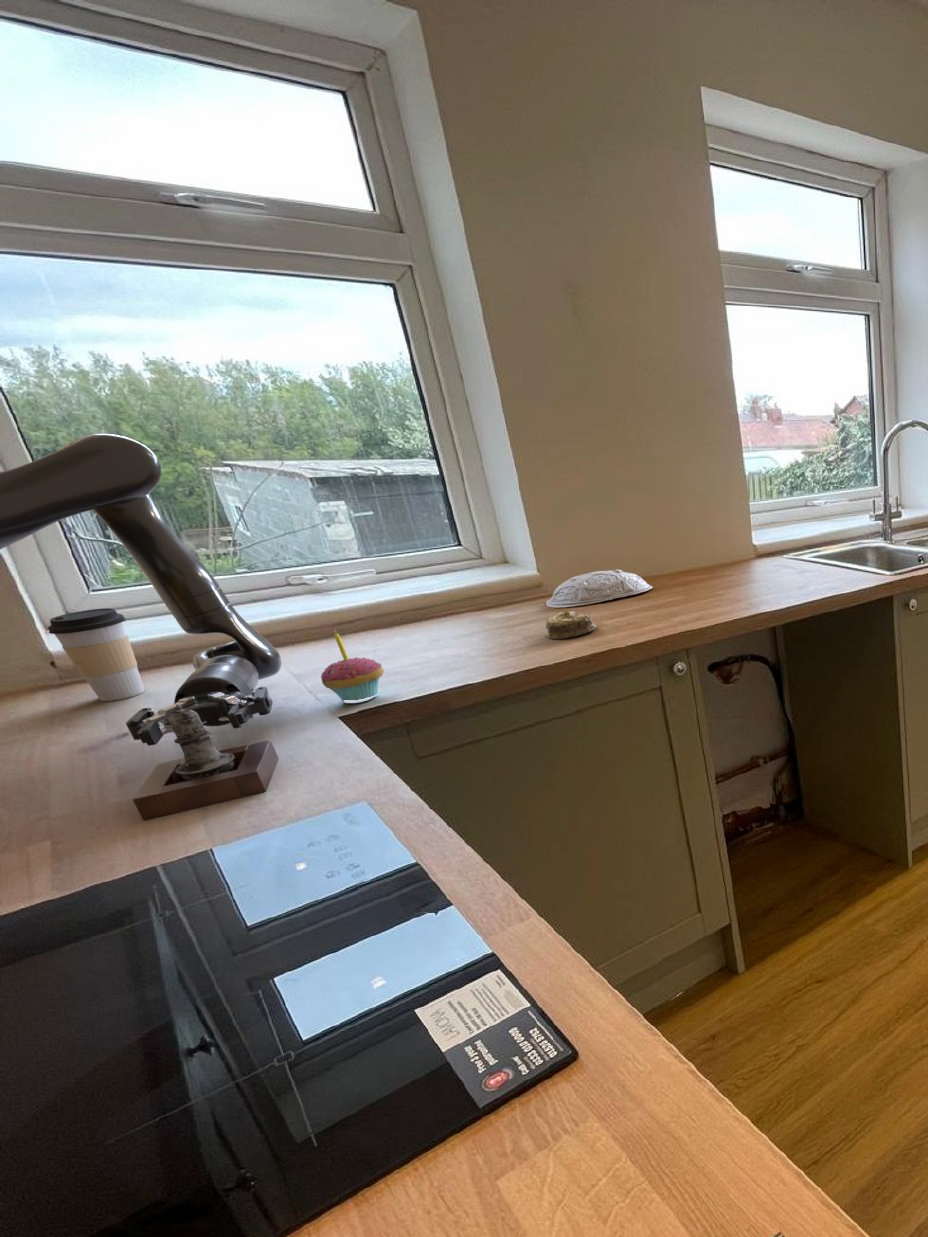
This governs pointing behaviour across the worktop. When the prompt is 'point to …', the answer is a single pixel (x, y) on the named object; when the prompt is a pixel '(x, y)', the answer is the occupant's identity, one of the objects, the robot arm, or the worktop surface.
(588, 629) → the cake
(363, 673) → the cupcake
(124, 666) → the coffee cup
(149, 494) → the robot arm
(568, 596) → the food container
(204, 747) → the grey stone finial
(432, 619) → the worktop surface
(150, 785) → the brown rectangular frame
